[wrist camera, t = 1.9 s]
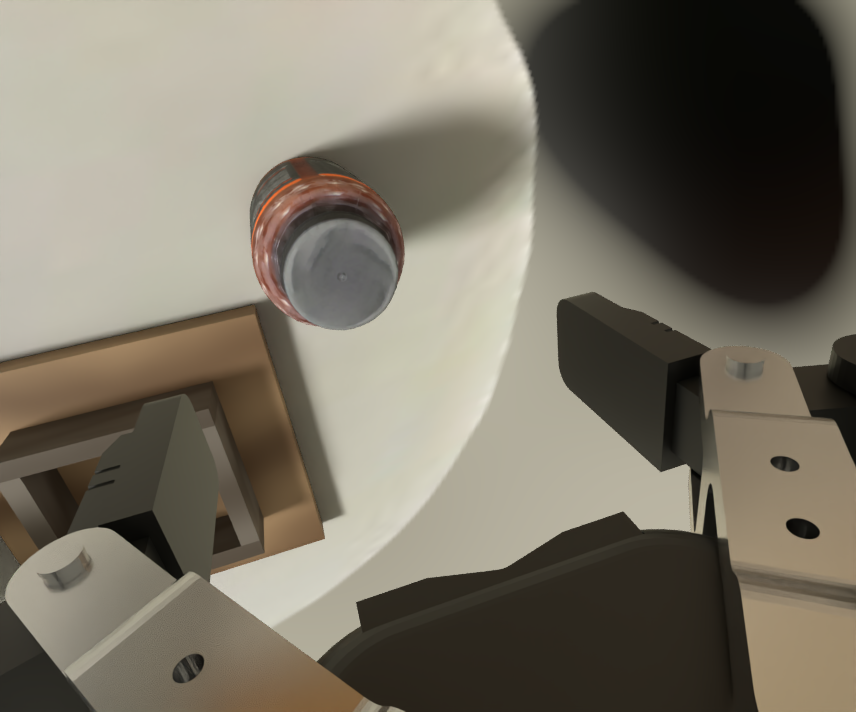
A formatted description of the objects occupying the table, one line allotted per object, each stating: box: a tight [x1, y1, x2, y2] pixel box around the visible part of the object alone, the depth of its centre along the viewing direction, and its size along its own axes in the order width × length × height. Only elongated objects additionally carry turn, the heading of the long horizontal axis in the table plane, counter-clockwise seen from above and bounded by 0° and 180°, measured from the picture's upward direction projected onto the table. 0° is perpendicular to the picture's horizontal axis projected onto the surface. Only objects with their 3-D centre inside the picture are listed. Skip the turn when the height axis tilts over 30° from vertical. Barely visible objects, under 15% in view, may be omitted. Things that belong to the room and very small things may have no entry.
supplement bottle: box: [250, 157, 405, 330], centre depth 23 cm, size 6×6×11 cm
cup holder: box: [0, 305, 325, 575], centre depth 30 cm, size 16×16×4 cm
